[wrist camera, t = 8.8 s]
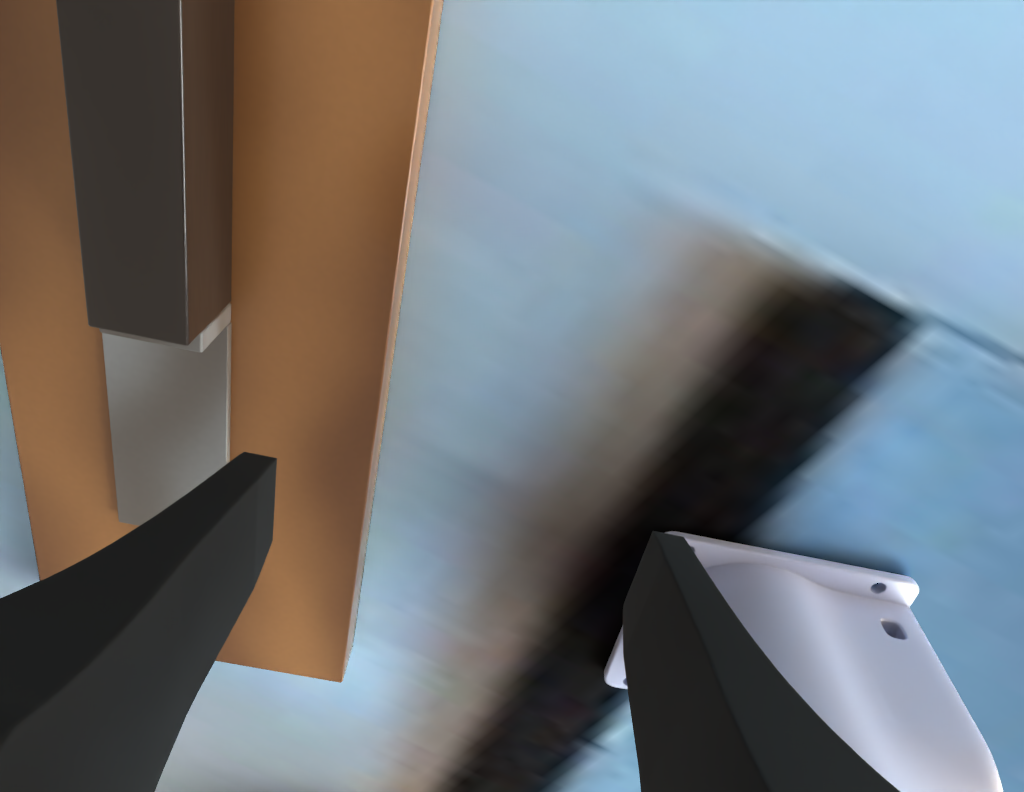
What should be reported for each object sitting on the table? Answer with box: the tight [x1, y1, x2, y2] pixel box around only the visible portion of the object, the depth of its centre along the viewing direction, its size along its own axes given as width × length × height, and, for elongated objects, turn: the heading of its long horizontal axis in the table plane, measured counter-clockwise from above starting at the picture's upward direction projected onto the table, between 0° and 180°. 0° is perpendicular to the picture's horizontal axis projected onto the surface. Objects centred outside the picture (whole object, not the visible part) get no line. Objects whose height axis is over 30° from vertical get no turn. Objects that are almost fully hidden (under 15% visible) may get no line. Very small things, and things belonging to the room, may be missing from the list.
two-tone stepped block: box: [56, 0, 235, 526], centre depth 19 cm, size 4×17×3 cm, turn 168°
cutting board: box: [0, 0, 444, 682], centre depth 22 cm, size 11×26×2 cm, turn 168°
